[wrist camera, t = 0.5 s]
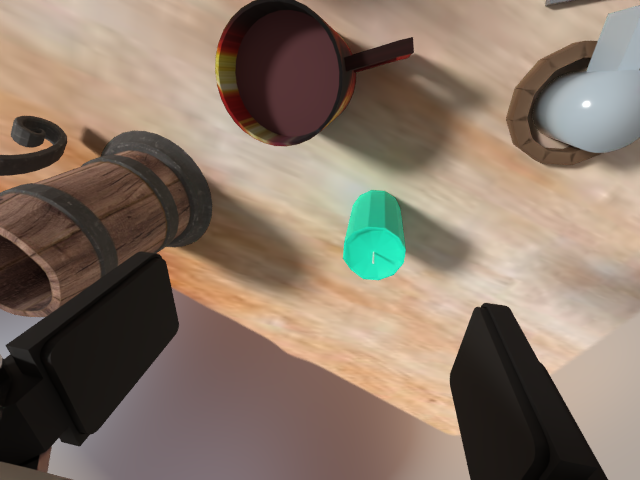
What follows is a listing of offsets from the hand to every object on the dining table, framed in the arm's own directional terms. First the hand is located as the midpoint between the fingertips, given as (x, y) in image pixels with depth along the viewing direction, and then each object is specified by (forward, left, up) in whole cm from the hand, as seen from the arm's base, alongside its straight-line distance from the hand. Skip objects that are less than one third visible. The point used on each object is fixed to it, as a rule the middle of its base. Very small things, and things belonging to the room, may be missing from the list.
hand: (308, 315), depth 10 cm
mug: (-8, -5, -30) cm, 31 cm away
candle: (+8, +2, -30) cm, 31 cm away
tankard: (+7, -31, -30) cm, 43 cm away
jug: (-7, +19, -29) cm, 36 cm away
